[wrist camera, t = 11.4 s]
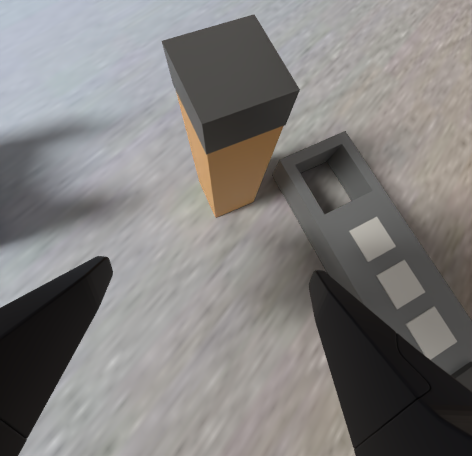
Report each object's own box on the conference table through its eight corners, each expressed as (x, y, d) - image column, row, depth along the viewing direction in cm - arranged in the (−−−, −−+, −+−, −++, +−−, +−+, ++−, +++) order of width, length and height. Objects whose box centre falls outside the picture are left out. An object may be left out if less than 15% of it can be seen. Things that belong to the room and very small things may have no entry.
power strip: (470, 370, 19) (523, 390, 15) (408, 414, 18) (450, 446, 14) (329, 149, 23) (347, 128, 19) (272, 175, 22) (280, 157, 18)
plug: (254, 202, 21) (299, 89, 8) (215, 218, 20) (202, 124, 8) (236, 166, 22) (254, 14, 9) (198, 181, 21) (161, 40, 9)
